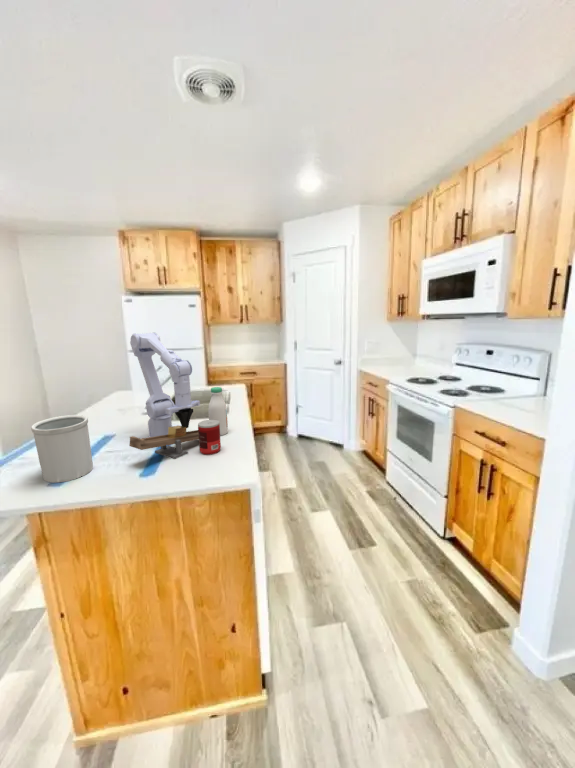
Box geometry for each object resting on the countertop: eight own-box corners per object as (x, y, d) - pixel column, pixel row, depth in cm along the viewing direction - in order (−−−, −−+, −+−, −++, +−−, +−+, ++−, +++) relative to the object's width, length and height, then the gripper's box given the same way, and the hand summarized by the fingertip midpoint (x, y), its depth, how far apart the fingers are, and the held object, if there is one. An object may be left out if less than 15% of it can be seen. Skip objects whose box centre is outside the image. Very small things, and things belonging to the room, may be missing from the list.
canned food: (223, 446, 129) (221, 419, 126) (217, 455, 121) (215, 426, 119) (204, 446, 129) (202, 419, 127) (196, 454, 122) (194, 426, 119)
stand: (155, 452, 124) (153, 438, 123) (168, 447, 129) (167, 433, 128) (174, 459, 118) (173, 443, 117) (188, 453, 123) (186, 438, 122)
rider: (167, 437, 124) (168, 426, 123) (178, 435, 128) (179, 425, 128) (175, 439, 122) (175, 428, 121) (185, 437, 126) (186, 427, 126)
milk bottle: (226, 436, 140) (223, 389, 136) (207, 436, 140) (204, 389, 136) (229, 430, 148) (227, 385, 144) (212, 430, 148) (209, 386, 144)
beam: (129, 446, 112) (129, 436, 112) (200, 434, 139) (200, 426, 139) (141, 450, 109) (142, 440, 108) (212, 437, 136) (212, 429, 136)
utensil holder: (62, 487, 99) (53, 431, 96) (29, 479, 104) (19, 426, 101) (104, 466, 113) (98, 417, 109) (73, 460, 118) (66, 413, 114)
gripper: (174, 398, 117) (177, 435, 120) (204, 390, 129) (206, 424, 132) (161, 396, 121) (164, 431, 123) (191, 388, 133) (194, 421, 135)
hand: (185, 427), depth 128 cm, fingers closed
